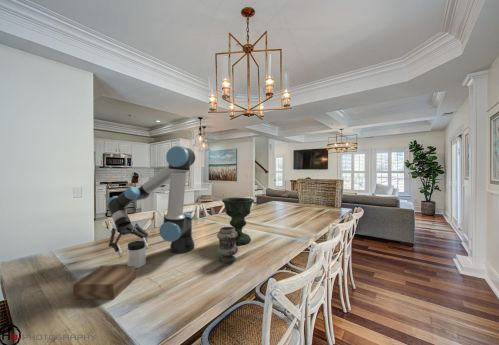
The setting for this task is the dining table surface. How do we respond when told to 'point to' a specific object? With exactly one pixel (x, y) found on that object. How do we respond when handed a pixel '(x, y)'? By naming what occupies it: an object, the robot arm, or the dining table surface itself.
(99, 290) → the walnut block
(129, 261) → the jar
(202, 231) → the dining table surface
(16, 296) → the dining table surface
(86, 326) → the dining table surface
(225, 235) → the apothecary jar
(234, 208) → the goblet
